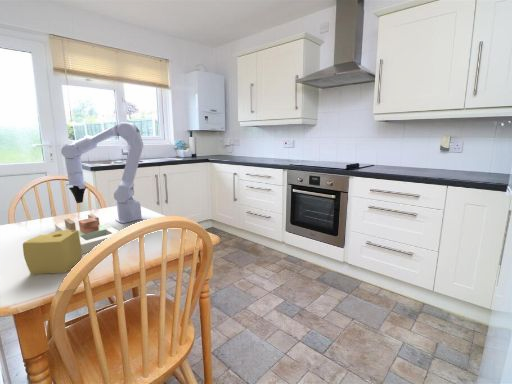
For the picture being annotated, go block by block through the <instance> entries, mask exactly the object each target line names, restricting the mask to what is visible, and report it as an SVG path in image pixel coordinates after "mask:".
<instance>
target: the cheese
mask: <svg viewBox="0 0 512 384" xmlns="http://www.w3.org/2000/svg"><path fill="white" fill-rule="evenodd" d="M22 252H23V257H24V261H25V263H26V266H27V269H28V271H29V274H30V275H45V274H60V273H61V274H62V273H67V272H68V271H69V270H70V269H72V267H74V266H75V265H76V264H78V262H80V260H82V259H83V253H82V250H81V243H80V237H79V232H78V230H61V231H53V232H51V233H46V234H39V235H37V236H35V237H32V238H29V239H27V240H26V241H23V243H22ZM81 258H82V259H81Z"/></svg>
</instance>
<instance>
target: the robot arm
mask: <svg viewBox="0 0 512 384" xmlns="http://www.w3.org/2000/svg"><path fill="white" fill-rule="evenodd" d="M113 137H121V138H122V139H123V140H125V142H126V143H127V144H128V146H130V147H129V150H128V154H127V159H126V163H125V165H124V170H123V173H122V177H121V181H120V183H119V184H118V187H117V189H116V190H115V191H114V193H113V199H114V200H115V201H116V208H117V209H116V210H117V216H118V218H115V220H114V221H116V222H118V223H120V224H126V223H131V222H134V221H138V220H142V219H143V216H142V208H141V207H142V206H141V203H140V201H139V199H134V198H133V197H134V195H135V190H134V189H135V188H134V187H135V184H134V183H135V179H136V175H137V171H138V168H139V162H140V160H141V157H142V156H141V155H142V152H143V149H144V142H143V139H142V135H141V130H140V129H139V128H138V126H137V125H135V123H132V122H120V123H119V124H115V125H113V126H110V127H109V128H108V127H107V128H105V130H103V131H101V132H99V133H97V134H95V135H93V136H90V135H82V136H81V138H80V139H78V140H73V141H71V144H65V145H63V146H62V147H61V150H60V151H61V156H63V157H64V161H65V167H66V168H65V169H66V172H67V180H68V182H66V183H65V185H66V186H71V187H69V188H68V189H69V190H70V192H71V194H72V195H73V198H74V200H75V202H76V203H77V204H82V203H83V202H84V195H85V191H86V189H87V187H86V182H85V178H84V171H83V165H82V159H81V157H82V155H83V154H86V153H88V152H90V151H92V150H93V149H96V148H97V147H98V144H99V143H102V142H104V141H106V140H108V139H111V138H113Z"/></svg>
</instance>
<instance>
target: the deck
mask: <svg viewBox="0 0 512 384" xmlns="http://www.w3.org/2000/svg"><path fill="white" fill-rule="evenodd" d="M87 216H88V217H84V218H79V219H74V220H72V219H70V218H65V219H64V221H63V222H60V223H55V225H54V226H55V230H56V231H61V230H78V232H79V237H80V243H81V250H82V254H83V253H84V254H85V253H87V252H88V253H89V252H90V250H91V251H93V250H92V249H93V248H94V247H95V246H97V245H98V244H100V243H101V242H102V241H104V240H105V239H107V238H108V237H110V236H111V235H113V234H115V233H116V232H118V231H119V230H118V229H116V228H114V227H112V226H110V225H108V224H107V223H105V222H103V221H101V220H100V218H99V216H98V215H97V216H96V215H95V214H92V213H89V214H88V215H87ZM89 218H94V219H96V220H98V227H99V230H97V231H93V232H89V233H85V234H84V233H83V232H81V231H80V226H79V221H80V220H84V219H89ZM56 231H55V232H56Z"/></svg>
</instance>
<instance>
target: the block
mask: <svg viewBox="0 0 512 384" xmlns="http://www.w3.org/2000/svg"><path fill="white" fill-rule="evenodd" d="M79 226H80V231H81V232H83V233H84V234H85V233H89V232H93V231H97V230H99V227H98V220H96V219H94V218H89V219H84V220H80V221H79Z"/></svg>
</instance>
